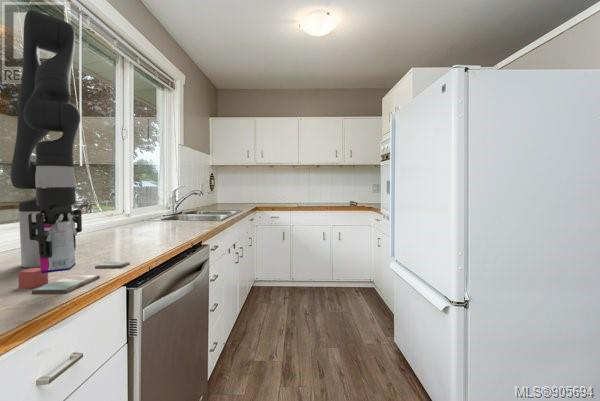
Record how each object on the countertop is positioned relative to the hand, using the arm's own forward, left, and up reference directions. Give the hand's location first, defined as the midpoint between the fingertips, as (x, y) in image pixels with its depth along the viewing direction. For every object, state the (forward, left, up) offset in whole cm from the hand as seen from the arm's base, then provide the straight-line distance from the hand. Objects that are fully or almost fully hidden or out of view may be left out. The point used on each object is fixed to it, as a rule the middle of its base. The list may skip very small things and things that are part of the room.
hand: (58, 254), depth 77 cm
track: (-6, +9, -8) cm, 14 cm away
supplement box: (0, 0, -4) cm, 4 cm away
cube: (-7, -1, -7) cm, 10 cm away
